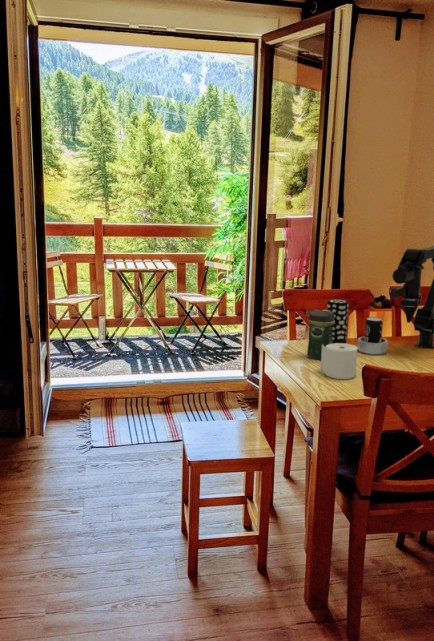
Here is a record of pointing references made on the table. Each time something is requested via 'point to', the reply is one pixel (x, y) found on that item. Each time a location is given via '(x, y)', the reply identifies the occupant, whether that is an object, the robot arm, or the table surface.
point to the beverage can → (373, 330)
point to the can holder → (372, 347)
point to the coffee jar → (319, 332)
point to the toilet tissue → (339, 360)
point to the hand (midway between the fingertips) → (409, 320)
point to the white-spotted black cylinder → (339, 319)
